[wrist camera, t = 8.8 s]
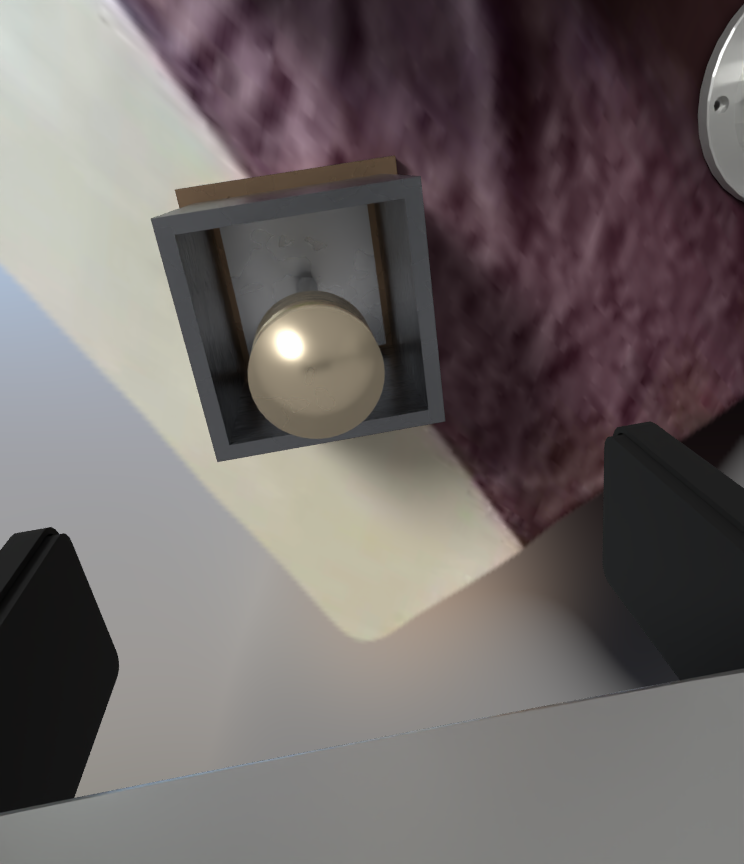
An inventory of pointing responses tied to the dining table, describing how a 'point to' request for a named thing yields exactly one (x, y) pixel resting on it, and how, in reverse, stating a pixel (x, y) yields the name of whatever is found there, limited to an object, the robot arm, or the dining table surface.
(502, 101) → the dining table surface
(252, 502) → the dining table surface
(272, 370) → the plunger
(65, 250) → the dining table surface
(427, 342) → the press housing
